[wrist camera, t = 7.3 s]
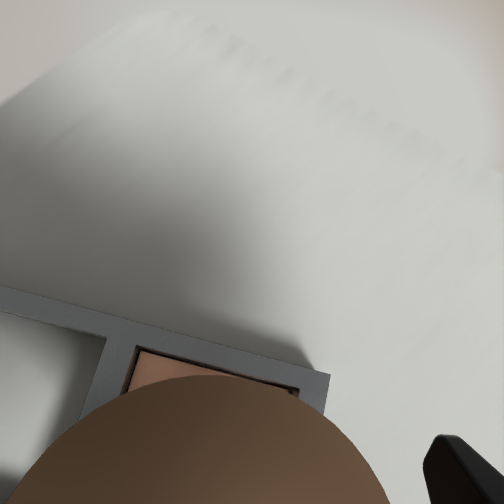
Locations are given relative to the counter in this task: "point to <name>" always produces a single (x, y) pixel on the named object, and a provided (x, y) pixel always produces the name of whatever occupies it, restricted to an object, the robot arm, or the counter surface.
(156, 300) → the counter surface
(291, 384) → the grey divided tray
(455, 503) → the robot arm
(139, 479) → the post
